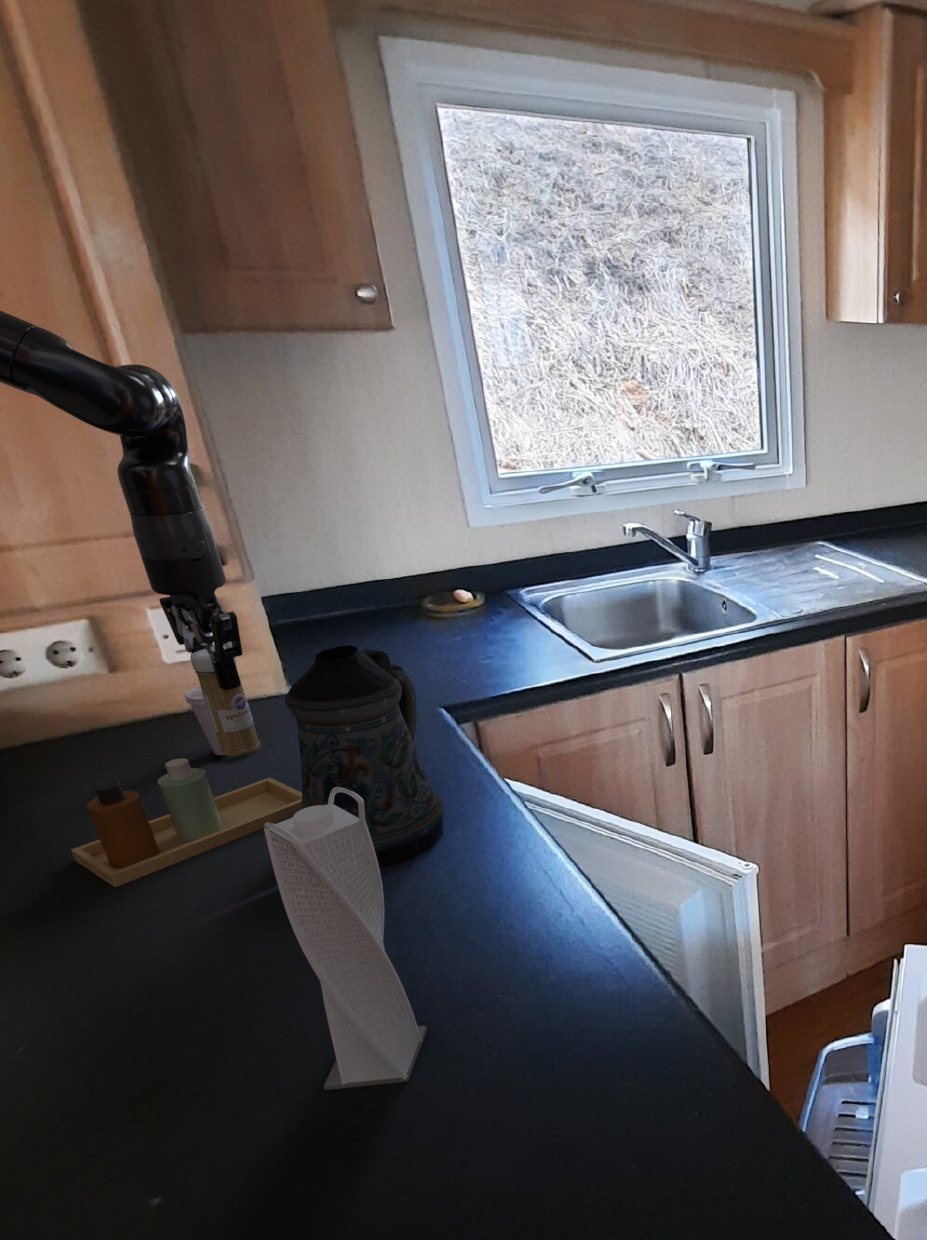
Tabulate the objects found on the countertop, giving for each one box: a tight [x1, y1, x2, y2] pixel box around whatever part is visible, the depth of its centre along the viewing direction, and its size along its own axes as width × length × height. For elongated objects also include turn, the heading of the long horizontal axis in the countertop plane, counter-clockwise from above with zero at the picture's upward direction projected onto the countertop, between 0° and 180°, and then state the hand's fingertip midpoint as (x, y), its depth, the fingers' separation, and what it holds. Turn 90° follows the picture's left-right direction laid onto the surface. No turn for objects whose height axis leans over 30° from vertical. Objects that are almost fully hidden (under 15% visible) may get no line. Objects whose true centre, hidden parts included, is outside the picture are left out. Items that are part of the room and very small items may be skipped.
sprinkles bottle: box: [189, 647, 261, 757], centre depth 124 cm, size 5×5×14 cm
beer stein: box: [284, 644, 445, 869], centre depth 121 cm, size 16×19×25 cm
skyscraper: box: [263, 787, 428, 1091], centre depth 84 cm, size 8×8×28 cm
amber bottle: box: [86, 780, 159, 868], centre depth 117 cm, size 5×5×10 cm
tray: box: [70, 777, 302, 888], centre depth 125 cm, size 24×11×2 cm, turn 147°
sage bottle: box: [157, 757, 224, 842], centre depth 123 cm, size 5×5×10 cm
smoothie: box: [184, 685, 224, 756], centre depth 145 cm, size 6×6×14 cm
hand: (220, 683), depth 123 cm, fingers closed on sprinkles bottle, 4 cm apart
